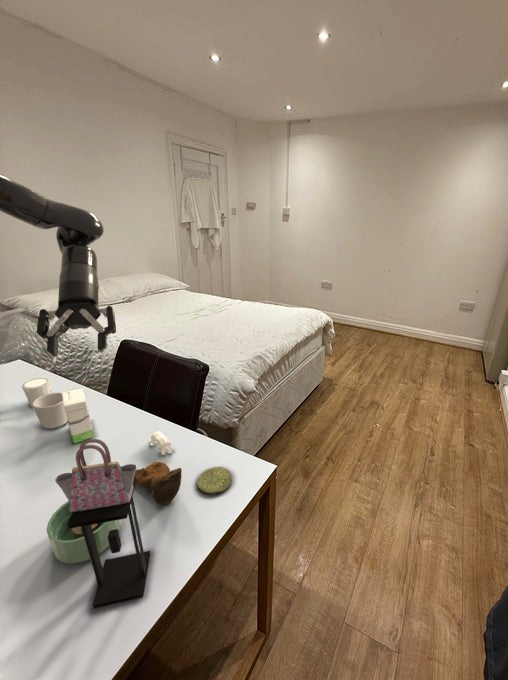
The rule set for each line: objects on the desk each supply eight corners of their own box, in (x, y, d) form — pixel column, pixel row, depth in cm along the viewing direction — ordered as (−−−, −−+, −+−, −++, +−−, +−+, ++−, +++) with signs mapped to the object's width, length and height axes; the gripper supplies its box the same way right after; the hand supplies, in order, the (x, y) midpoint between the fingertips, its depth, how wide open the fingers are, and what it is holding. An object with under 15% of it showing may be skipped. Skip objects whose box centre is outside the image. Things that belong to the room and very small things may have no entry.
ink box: (94, 437, 89) (86, 401, 84) (73, 444, 86) (63, 407, 81) (90, 421, 95) (82, 386, 90) (70, 427, 92) (61, 392, 88)
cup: (30, 421, 94) (22, 397, 91) (61, 408, 100) (55, 386, 97) (46, 435, 88) (38, 411, 85) (77, 421, 94) (72, 398, 92)
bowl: (41, 569, 57) (33, 546, 55) (72, 514, 67) (65, 493, 65) (109, 561, 59) (103, 538, 56) (128, 509, 69) (124, 488, 66)
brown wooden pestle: (70, 546, 60) (52, 486, 55) (81, 525, 64) (65, 467, 59) (96, 544, 61) (80, 484, 55) (105, 523, 65) (91, 465, 59)
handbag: (158, 551, 61) (136, 420, 50) (152, 594, 54) (125, 454, 43) (95, 564, 58) (58, 429, 47) (81, 611, 51) (33, 466, 40)
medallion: (190, 488, 74) (190, 486, 74) (209, 465, 81) (209, 462, 81) (220, 499, 72) (220, 496, 72) (237, 474, 79) (237, 471, 79)
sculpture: (152, 475, 63) (135, 435, 74) (143, 520, 65) (127, 475, 76) (192, 468, 69) (170, 432, 80) (182, 510, 70) (162, 469, 81)
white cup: (27, 400, 103) (21, 381, 100) (53, 393, 107) (48, 375, 104) (28, 410, 98) (22, 390, 95) (55, 403, 102) (50, 384, 100)
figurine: (164, 457, 83) (162, 443, 81) (148, 443, 88) (146, 429, 86) (172, 453, 85) (171, 438, 83) (157, 439, 89) (155, 425, 88)
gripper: (34, 279, 68) (29, 350, 63) (110, 277, 73) (112, 343, 68) (48, 297, 75) (44, 362, 69) (117, 294, 80) (119, 355, 74)
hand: (77, 352), depth 69 cm, fingers open, 8 cm apart
